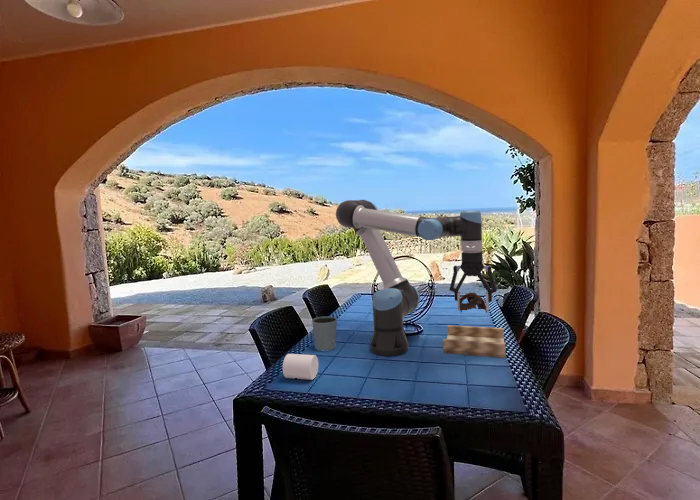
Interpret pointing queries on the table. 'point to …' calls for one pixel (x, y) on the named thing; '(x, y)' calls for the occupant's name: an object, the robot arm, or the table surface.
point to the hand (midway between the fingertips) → (473, 309)
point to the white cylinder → (300, 366)
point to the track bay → (475, 341)
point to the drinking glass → (324, 332)
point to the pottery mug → (472, 302)
